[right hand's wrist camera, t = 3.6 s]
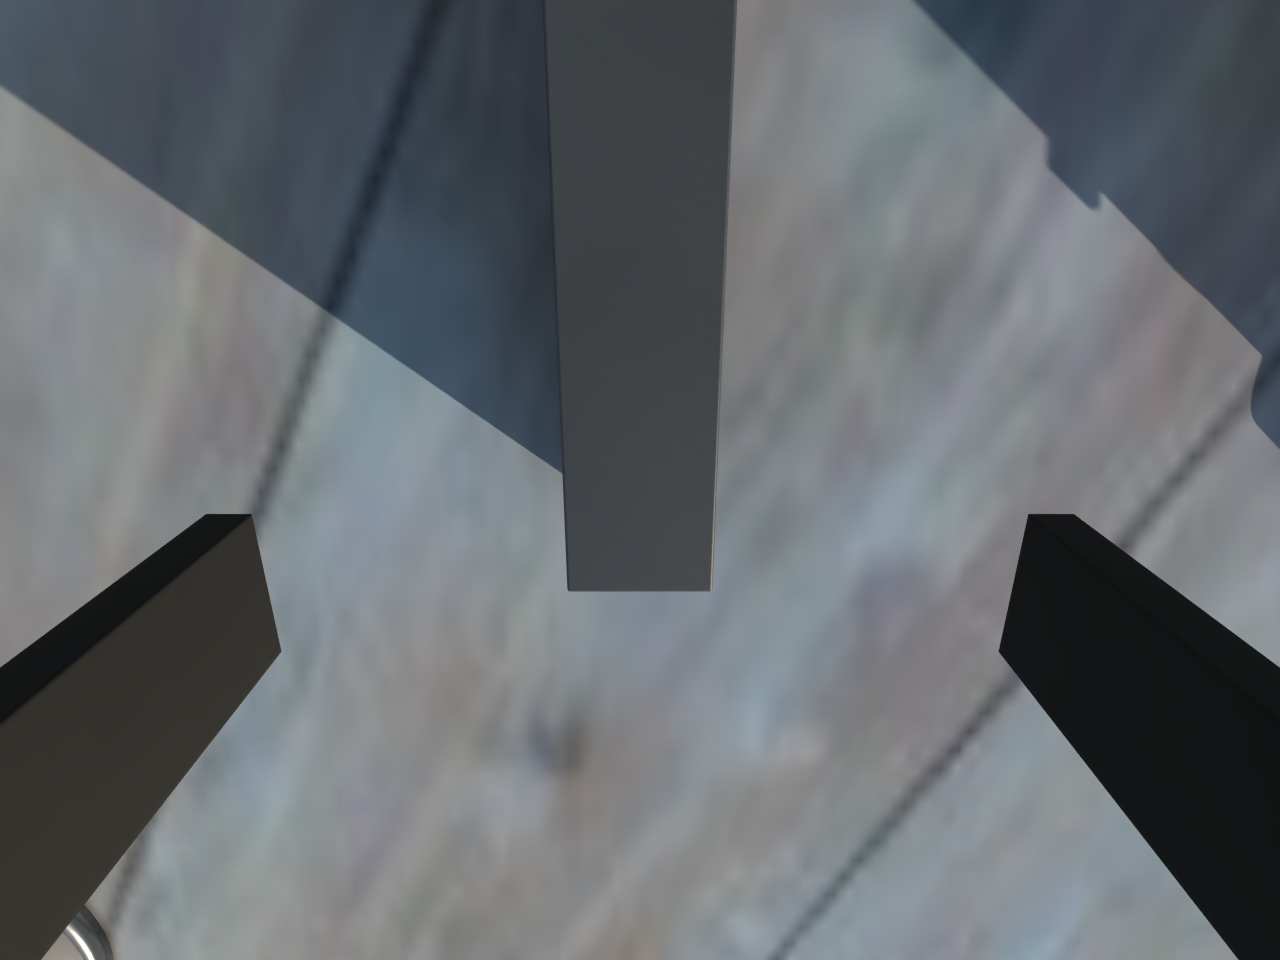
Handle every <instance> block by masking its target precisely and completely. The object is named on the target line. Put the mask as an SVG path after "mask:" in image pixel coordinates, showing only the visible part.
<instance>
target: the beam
mask: <svg viewBox="0 0 1280 960" xmlns="http://www.w3.org/2000/svg"><path fill="white" fill-rule="evenodd" d="M736 13H737V0H543V19H544V43H545V67H546V90H547V114H548V138H549V162H550V185H551V209H552V233H553V257H554V280H555V304H556V328H557V351H558V375H559V399H560V423H561V446H562V470H563V494H564V518H565V541H566V565H567V589H568V591H711V590H712V584H713V560H714V536H715V512H716V489H717V465H718V441H719V417H720V394H721V370H722V346H723V322H724V298H725V275H726V251H727V227H728V203H729V180H730V156H731V132H732V108H733V84H734V61H735V37H736Z"/></svg>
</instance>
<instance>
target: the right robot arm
mask: <svg viewBox="0 0 1280 960" xmlns="http://www.w3.org/2000/svg"><path fill="white" fill-rule="evenodd" d="M280 653H281V648H280V643H279V639H278V634H277V629H276V625H275V620H274V616H273V611H272V606H271V602H270V597H269V593H268V588H267V583H266V579H265V574H264V569H263V565H262V560H261V556H260V551H259V546H258V542H257V537H256V532H255V528H254V523H253V519H252V514H206V515H204V516H203V517H202V518H200V519H199V520H198V521H196V522H195V523H194V524H192V525H191V526H190V527H188V528H187V529H186V530H184V531H183V532H182V533H180V534H179V535H178V536H176V537H175V538H174V539H172V540H171V541H170V542H168V543H167V544H165V545H164V546H163V547H161V548H160V549H159V550H157V551H156V552H155V553H153V554H152V555H151V556H149V557H148V558H147V559H145V560H144V561H143V562H141V563H140V564H139V565H137V566H136V567H135V568H133V569H132V570H131V571H129V572H128V573H127V574H125V575H124V576H123V577H121V578H120V579H119V580H117V581H116V582H115V583H113V584H112V585H110V586H109V587H108V588H106V589H105V590H104V591H102V592H101V593H100V594H98V595H97V596H96V597H94V598H93V599H92V600H90V601H89V602H88V603H86V604H85V605H84V606H82V607H81V608H80V609H78V610H77V611H76V612H74V613H73V614H72V615H70V616H69V617H68V618H66V619H65V620H64V621H62V622H61V623H59V624H58V625H57V626H55V627H54V628H53V629H51V630H50V631H49V632H47V633H46V634H45V635H43V636H42V637H41V638H39V639H38V640H37V641H35V642H34V643H33V644H31V645H30V646H29V647H27V648H26V649H25V650H23V651H22V652H21V653H19V654H18V655H17V656H15V657H14V658H13V659H11V660H10V661H9V662H7V663H6V664H4V665H3V666H2V667H0V960H113V954H112V950H111V947H110V944H109V941H108V939H107V937H106V935H105V933H104V931H103V929H102V928H101V926H100V924H99V923H98V921H97V920H96V918H95V917H94V916H93V915H92V913H91V912H90V911H89V910H88V909H87V907H86V906H85V905H84V904H85V903H86V902H87V900H88V899H89V898H90V897H91V895H92V894H93V893H94V891H95V890H96V889H97V888H98V886H99V885H100V884H101V883H102V881H103V880H104V879H105V877H106V876H107V875H108V874H109V872H110V871H111V870H112V868H113V867H114V866H115V865H116V863H117V862H118V861H119V859H120V858H121V857H122V856H123V854H124V853H125V852H126V850H127V849H128V848H129V847H130V845H131V844H132V843H133V841H134V840H135V839H136V838H137V836H138V835H139V834H140V832H141V831H142V830H143V829H144V827H145V826H146V825H147V823H148V822H149V821H150V820H151V818H152V817H153V816H154V814H155V813H156V812H157V811H158V809H159V808H160V807H161V805H162V804H163V803H164V802H165V800H166V799H167V798H168V796H169V795H170V794H171V793H172V791H173V790H174V789H175V787H176V786H177V785H178V784H179V782H180V781H181V780H182V778H183V777H184V776H185V775H186V773H187V772H188V771H189V769H190V768H191V767H192V766H193V764H194V763H195V762H196V760H197V759H198V758H199V757H200V755H201V754H202V753H203V751H204V750H205V749H206V748H207V746H208V745H209V744H210V743H211V741H212V740H213V739H214V737H215V736H216V735H217V734H218V732H219V731H220V730H221V728H222V727H223V726H224V725H225V723H226V722H227V721H228V719H229V718H230V717H231V716H232V714H233V713H234V712H235V710H236V709H237V708H238V707H239V705H240V704H241V703H242V701H243V700H244V699H245V698H246V696H247V695H248V694H249V692H250V691H251V690H252V689H253V687H254V686H255V685H256V683H257V682H258V681H259V680H260V678H261V677H262V676H263V674H264V673H265V672H266V671H267V669H268V668H269V667H270V665H271V664H272V663H273V662H274V660H275V659H276V658H277V656H278V655H279V654H280ZM999 653H1000V654H1001V655H1002V656H1003V658H1004V659H1005V660H1006V662H1007V663H1008V664H1009V665H1010V667H1011V668H1012V669H1013V671H1014V672H1015V673H1016V674H1017V676H1018V677H1019V678H1020V680H1021V681H1022V682H1023V683H1024V685H1025V686H1026V687H1027V689H1028V690H1029V691H1030V692H1031V694H1032V695H1033V696H1034V698H1035V699H1036V700H1037V701H1038V703H1039V704H1040V705H1041V707H1042V708H1043V709H1044V710H1045V712H1046V713H1047V714H1048V716H1049V717H1050V718H1051V719H1052V721H1053V722H1054V723H1055V725H1056V726H1057V727H1058V728H1059V730H1060V731H1061V732H1062V734H1063V735H1064V736H1065V737H1066V739H1067V740H1068V741H1069V743H1070V744H1071V745H1072V746H1073V748H1074V749H1075V750H1076V751H1077V753H1078V754H1079V755H1080V757H1081V758H1082V759H1083V760H1084V762H1085V763H1086V764H1087V766H1088V767H1089V768H1090V769H1091V771H1092V772H1093V773H1094V775H1095V776H1096V777H1097V778H1098V780H1099V781H1100V782H1101V784H1102V785H1103V786H1104V787H1105V789H1106V790H1107V791H1108V793H1109V794H1110V795H1111V796H1112V798H1113V799H1114V800H1115V802H1116V803H1117V804H1118V805H1119V807H1120V808H1121V809H1122V811H1123V812H1124V813H1125V814H1126V816H1127V817H1128V818H1129V820H1130V821H1131V822H1132V823H1133V825H1134V826H1135V827H1136V829H1137V830H1138V831H1139V832H1140V834H1141V835H1142V836H1143V838H1144V839H1145V840H1146V841H1147V843H1148V844H1149V845H1150V847H1151V848H1152V849H1153V850H1154V852H1155V853H1156V854H1157V856H1158V857H1159V858H1160V859H1161V861H1162V862H1163V863H1164V865H1165V866H1166V867H1167V868H1168V870H1169V871H1170V872H1171V874H1172V875H1173V876H1174V877H1175V879H1176V880H1177V881H1178V883H1179V884H1180V885H1181V886H1182V888H1183V889H1184V890H1185V891H1186V893H1187V894H1188V895H1189V897H1190V898H1191V899H1192V900H1193V902H1194V903H1195V904H1196V906H1197V907H1198V908H1199V909H1200V911H1201V912H1202V913H1203V915H1204V916H1205V917H1206V918H1207V920H1208V921H1209V922H1210V924H1211V925H1212V926H1213V927H1214V929H1215V930H1216V931H1217V933H1218V934H1219V935H1220V936H1221V938H1222V939H1223V940H1224V942H1225V943H1226V944H1227V945H1228V947H1229V948H1230V949H1231V951H1232V952H1233V953H1234V954H1235V956H1236V957H1237V958H1238V960H1280V667H1278V666H1277V665H1276V664H1274V663H1273V662H1271V661H1270V660H1269V659H1267V658H1266V657H1265V656H1263V655H1262V654H1261V653H1259V652H1258V651H1257V650H1255V649H1254V648H1253V647H1251V646H1250V645H1249V644H1247V643H1246V642H1245V641H1243V640H1242V639H1241V638H1239V637H1238V636H1237V635H1235V634H1234V633H1233V632H1231V631H1230V630H1229V629H1227V628H1226V627H1225V626H1223V625H1222V624H1221V623H1219V622H1218V621H1216V620H1215V619H1214V618H1212V617H1211V616H1210V615H1208V614H1207V613H1206V612H1204V611H1203V610H1202V609H1200V608H1199V607H1198V606H1196V605H1195V604H1194V603H1192V602H1191V601H1190V600H1188V599H1187V598H1186V597H1184V596H1183V595H1182V594H1180V593H1179V592H1178V591H1176V590H1175V589H1174V588H1172V587H1171V586H1170V585H1168V584H1167V583H1165V582H1164V581H1163V580H1161V579H1160V578H1159V577H1157V576H1156V575H1155V574H1153V573H1152V572H1151V571H1149V570H1148V569H1147V568H1145V567H1144V566H1143V565H1141V564H1140V563H1139V562H1137V561H1136V560H1135V559H1133V558H1132V557H1131V556H1129V555H1128V554H1127V553H1125V552H1124V551H1123V550H1121V549H1120V548H1119V547H1117V546H1116V545H1115V544H1113V543H1112V542H1110V541H1109V540H1108V539H1106V538H1105V537H1104V536H1102V535H1101V534H1100V533H1098V532H1097V531H1096V530H1094V529H1093V528H1092V527H1090V526H1089V525H1088V524H1086V523H1085V522H1084V521H1082V520H1081V519H1080V518H1078V517H1077V516H1076V515H1074V514H1028V519H1027V523H1026V528H1025V532H1024V537H1023V542H1022V546H1021V551H1020V556H1019V560H1018V565H1017V569H1016V574H1015V579H1014V583H1013V588H1012V593H1011V597H1010V602H1009V606H1008V611H1007V616H1006V620H1005V625H1004V629H1003V634H1002V639H1001V643H1000V648H999Z"/></svg>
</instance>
